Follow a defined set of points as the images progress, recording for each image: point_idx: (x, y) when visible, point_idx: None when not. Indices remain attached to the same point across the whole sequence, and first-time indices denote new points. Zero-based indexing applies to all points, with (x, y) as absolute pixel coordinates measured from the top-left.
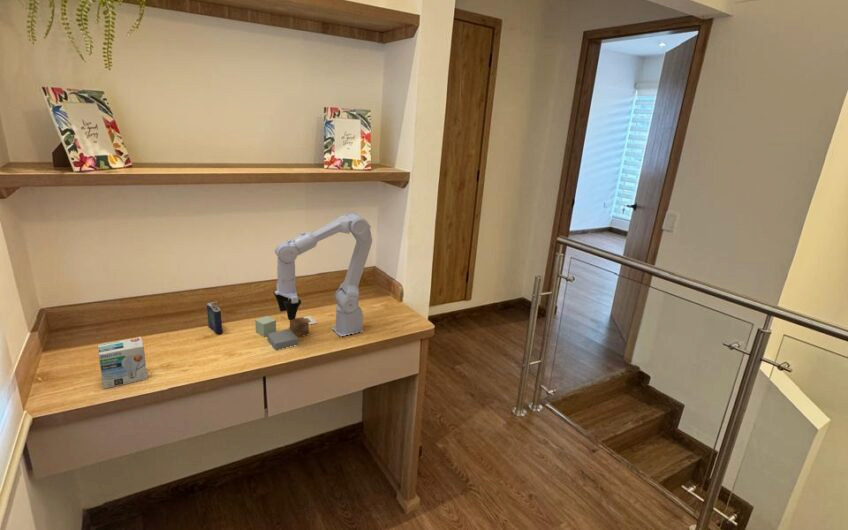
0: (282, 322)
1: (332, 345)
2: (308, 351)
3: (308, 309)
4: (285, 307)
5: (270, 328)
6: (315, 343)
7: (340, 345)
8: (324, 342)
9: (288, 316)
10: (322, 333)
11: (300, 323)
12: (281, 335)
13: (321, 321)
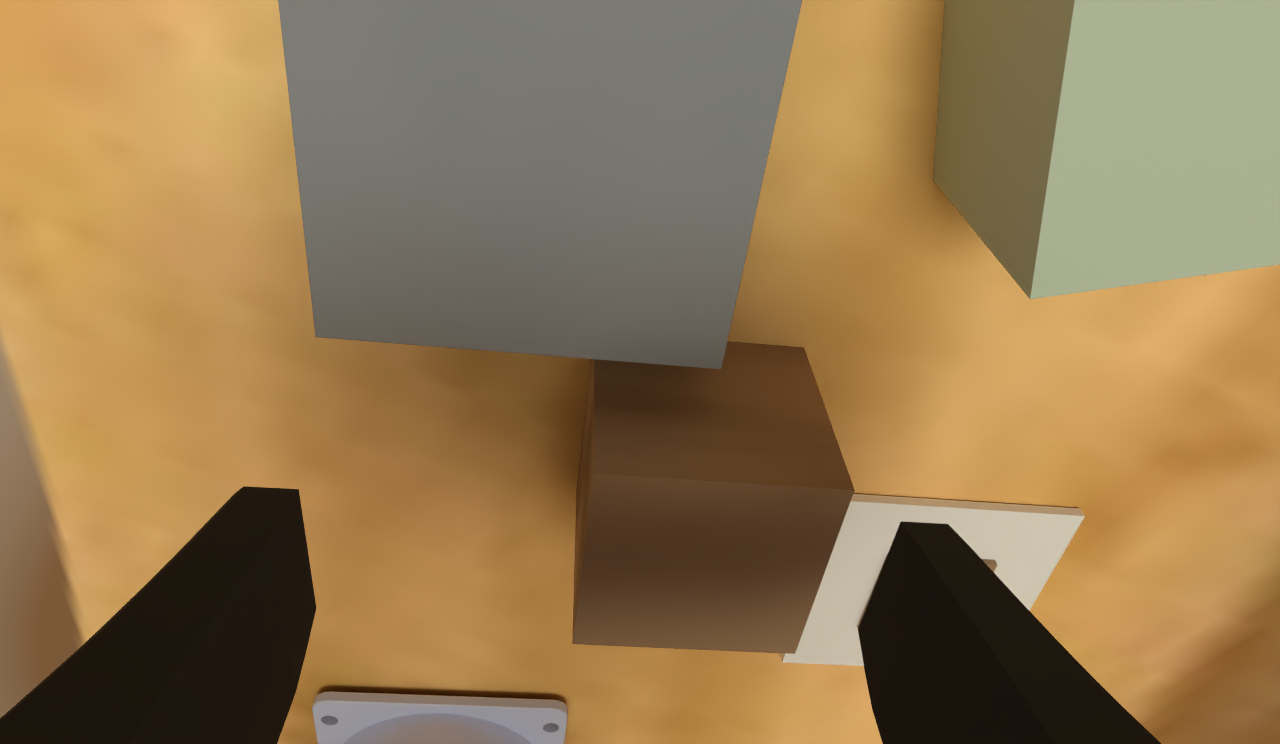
0: (1132, 387)
1: None
2: (90, 298)
3: (1139, 705)
4: (891, 695)
5: (988, 114)
6: (298, 457)
7: None
8: None
9: (166, 568)
10: (517, 604)
11: (607, 556)
12: (572, 152)
13: (791, 692)
